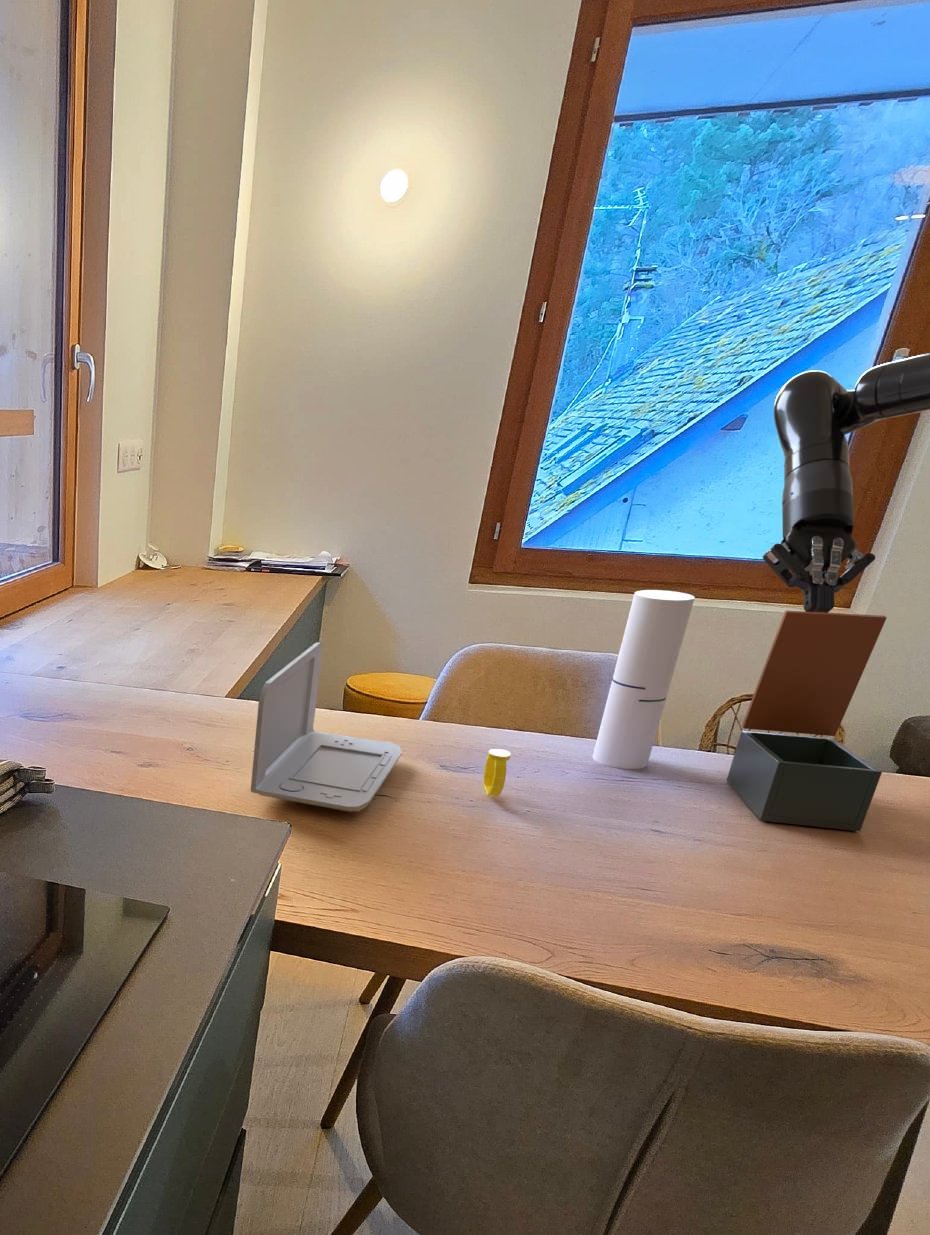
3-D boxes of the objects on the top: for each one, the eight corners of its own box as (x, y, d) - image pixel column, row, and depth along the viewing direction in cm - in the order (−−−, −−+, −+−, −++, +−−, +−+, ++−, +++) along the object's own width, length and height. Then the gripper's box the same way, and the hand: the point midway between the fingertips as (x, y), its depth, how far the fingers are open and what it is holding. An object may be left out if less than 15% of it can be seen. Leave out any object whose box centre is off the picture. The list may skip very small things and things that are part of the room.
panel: (887, 617, 120) (884, 615, 121) (786, 612, 124) (785, 610, 124) (835, 736, 129) (833, 733, 130) (743, 728, 133) (741, 726, 133)
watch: (475, 784, 134) (484, 743, 132) (497, 785, 134) (505, 745, 131) (483, 800, 129) (492, 758, 127) (506, 801, 129) (515, 760, 126)
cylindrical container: (595, 752, 148) (637, 588, 137) (648, 761, 144) (696, 593, 133) (588, 766, 143) (631, 596, 132) (643, 776, 139) (692, 602, 128)
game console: (362, 817, 123) (378, 702, 116) (250, 796, 130) (260, 686, 123) (405, 751, 144) (422, 650, 138) (308, 736, 151) (319, 639, 145)
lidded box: (860, 831, 119) (882, 771, 116) (759, 820, 123) (778, 762, 120) (814, 792, 133) (833, 738, 130) (725, 783, 136) (741, 730, 133)
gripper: (781, 481, 129) (782, 592, 125) (891, 491, 127) (896, 605, 122) (747, 515, 136) (747, 622, 132) (851, 526, 134) (854, 634, 130)
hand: (819, 613), depth 127 cm, fingers closed
